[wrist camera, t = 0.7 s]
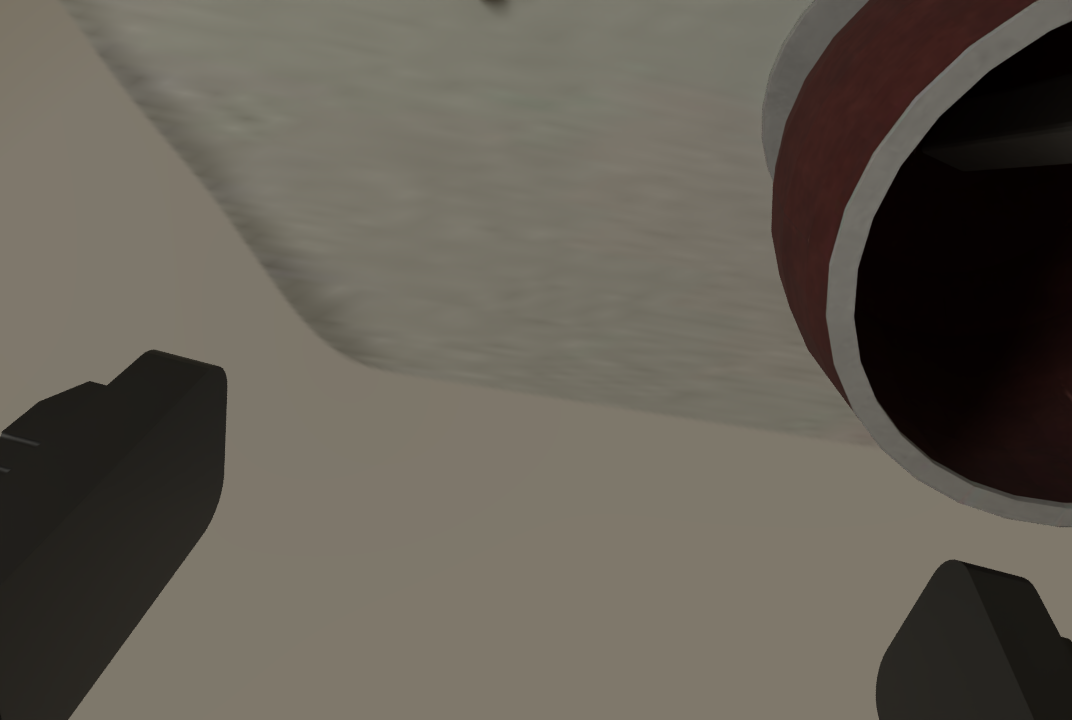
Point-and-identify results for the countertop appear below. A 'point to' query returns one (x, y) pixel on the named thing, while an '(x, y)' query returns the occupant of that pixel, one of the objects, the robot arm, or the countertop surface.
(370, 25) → the countertop surface
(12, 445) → the robot arm
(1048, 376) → the mate gourd
